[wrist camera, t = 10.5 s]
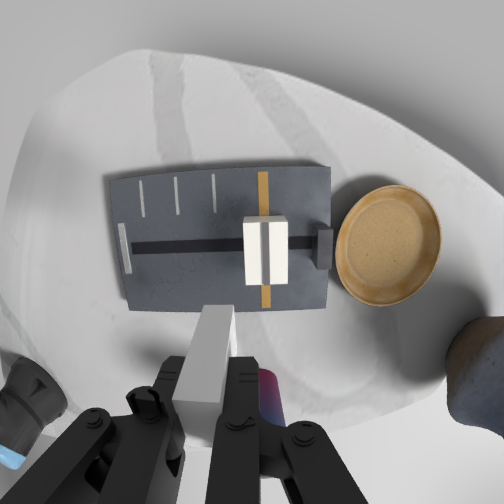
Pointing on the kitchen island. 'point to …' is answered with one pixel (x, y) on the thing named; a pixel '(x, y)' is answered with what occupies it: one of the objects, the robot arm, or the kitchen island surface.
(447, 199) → the kitchen island surface
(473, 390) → the pitcher
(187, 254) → the console
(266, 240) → the fader
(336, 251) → the plant saucer
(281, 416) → the cup
